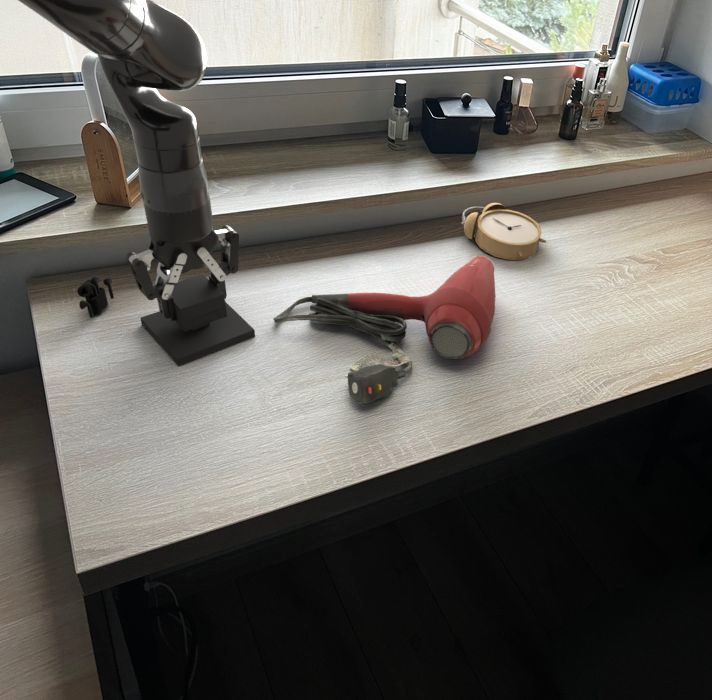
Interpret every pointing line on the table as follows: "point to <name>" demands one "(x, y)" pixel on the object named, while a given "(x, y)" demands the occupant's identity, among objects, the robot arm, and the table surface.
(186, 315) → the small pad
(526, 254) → the alarm clock
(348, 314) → the hair dryer
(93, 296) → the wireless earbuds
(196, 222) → the robot arm
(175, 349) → the base pad
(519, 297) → the table surface
